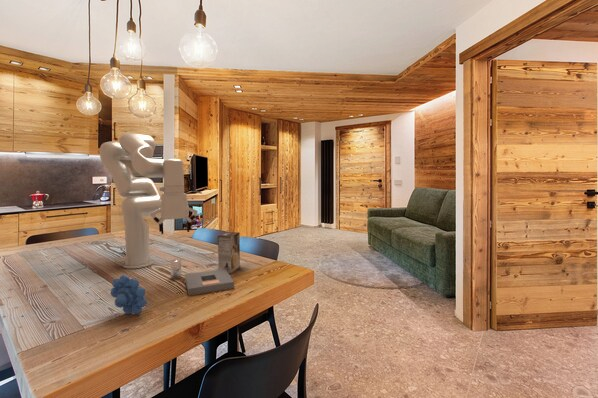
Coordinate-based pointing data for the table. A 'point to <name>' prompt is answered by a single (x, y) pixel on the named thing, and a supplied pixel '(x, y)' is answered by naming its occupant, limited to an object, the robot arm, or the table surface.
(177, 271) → the peg
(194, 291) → the hole board
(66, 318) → the table surface
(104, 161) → the robot arm
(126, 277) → the grapes
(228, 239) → the coffee box
